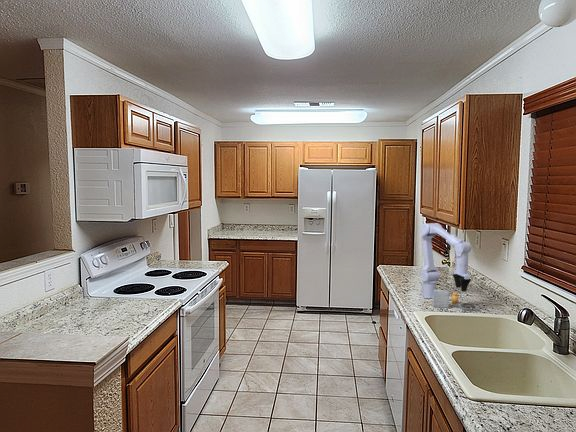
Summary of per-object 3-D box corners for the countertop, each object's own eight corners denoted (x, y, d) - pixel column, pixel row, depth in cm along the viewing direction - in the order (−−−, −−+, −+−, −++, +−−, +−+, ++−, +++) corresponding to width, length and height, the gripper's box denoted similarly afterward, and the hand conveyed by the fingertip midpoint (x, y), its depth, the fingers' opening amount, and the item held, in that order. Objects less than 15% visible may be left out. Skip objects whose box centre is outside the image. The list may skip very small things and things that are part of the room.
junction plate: (455, 305, 216) (456, 301, 216) (472, 305, 216) (472, 302, 216) (463, 310, 206) (463, 307, 206) (480, 311, 205) (480, 307, 205)
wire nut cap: (450, 302, 221) (450, 292, 220) (456, 302, 221) (457, 292, 220) (452, 304, 217) (453, 293, 217) (459, 304, 217) (459, 293, 217)
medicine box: (447, 305, 215) (448, 290, 214) (448, 308, 210) (449, 292, 210) (432, 304, 217) (432, 289, 216) (433, 307, 212) (433, 291, 212)
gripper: (449, 261, 217) (448, 285, 218) (459, 267, 202) (458, 292, 203) (462, 262, 216) (461, 285, 217) (473, 267, 202) (472, 293, 203)
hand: (460, 289), depth 210 cm, fingers open, 7 cm apart
